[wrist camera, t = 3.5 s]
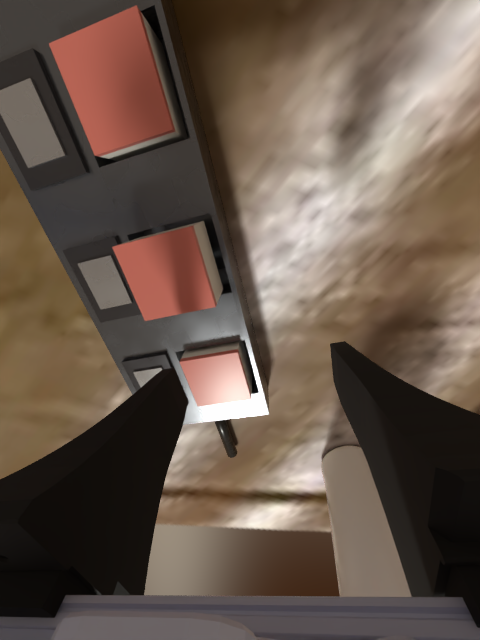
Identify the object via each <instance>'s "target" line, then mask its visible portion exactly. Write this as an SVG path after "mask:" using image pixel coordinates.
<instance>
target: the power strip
mask: <svg viewBox="0 0 480 640" xmlns="http://www.w3.org/2000/svg"><path fill="white" fill-rule="evenodd" d="M136 5H137V7H138V8H139V10H140V11H141V13H142V14H143V16H144V17H145V19H146V20H147V22H148V23H149V25H150V26H151V28H152V29H153V31H154V32H155V34H156V35H157V37H158V38H159V40H160V41H161V43H162V45H163V49H164V52H165V56H166V60H167V63H168V67H169V71H170V74H171V78H172V82H173V85H174V89H175V93H176V96H177V100H178V104H179V107H180V111H181V115H182V118H183V122H184V126H185V129H186V133H187V137H188V139H186V140H183V141H180V142H176V143H173V144H170V145H167V146H164V147H161V148H158V149H155V150H152V151H149V152H146V153H143V154H139V155H136V156H133V157H130V158H127V159H124V160H121V161H115V160H111V159H107V158H103V157H99V156H95V155H94V153H93V150H92V148H91V146H90V143H89V141H88V138H87V136H86V133H85V131H84V129H83V126H82V124H81V121H80V119H79V116H78V114H77V111H76V109H75V107H74V104H73V102H72V99H71V97H70V94H69V92H68V90H67V87H66V85H65V82H64V80H63V77H62V75H61V73H60V70H59V68H58V65H57V63H56V60H55V58H54V56H53V53H52V51H51V48H50V46H49V43H51V42H53V41H56V40H58V39H60V38H62V37H65V36H67V35H69V34H72V33H74V32H76V31H79V30H81V29H83V28H85V27H88V26H90V25H92V24H95V23H97V22H99V21H102V20H104V19H106V18H108V17H111V16H113V15H115V14H118V13H120V12H122V11H124V10H127V9H129V8H131V7H134V6H136ZM0 149H1V151H2V153H3V155H4V157H5V158H6V160H7V162H8V164H9V166H10V168H11V170H12V171H13V173H14V175H15V177H16V179H17V181H18V183H19V184H20V186H21V188H22V190H23V192H24V194H25V196H26V197H27V199H28V201H29V203H30V205H31V207H32V209H33V210H34V212H35V214H36V216H37V218H38V220H39V222H40V223H41V225H42V227H43V229H44V231H45V233H46V235H47V236H48V238H49V240H50V242H51V244H52V246H53V248H54V249H55V251H56V253H57V255H58V257H59V259H60V261H61V262H62V264H63V266H64V268H65V270H66V272H67V274H68V275H69V277H70V279H71V281H72V283H73V285H74V287H75V288H76V290H77V292H78V294H79V296H80V298H81V300H82V301H83V303H84V305H85V307H86V309H87V311H88V313H89V315H90V316H91V318H92V320H93V322H94V324H95V326H96V328H97V329H98V331H99V333H100V335H101V337H102V339H103V341H104V342H105V344H106V346H107V348H108V350H109V352H110V354H111V355H112V357H113V359H114V361H115V363H116V365H117V367H118V368H119V370H120V372H121V374H122V376H123V378H124V380H125V381H126V383H127V385H128V387H129V389H130V391H131V393H132V394H134V393H135V392H136V391H138V390H139V389H140V388H141V387H142V386H143V385H144V384H146V383H147V382H148V381H149V380H150V379H151V378H152V377H154V376H155V375H156V374H157V373H159V372H160V371H161V370H163V369H169V368H175V370H176V373H177V375H178V377H179V380H180V382H181V385H182V387H183V389H184V392H185V394H186V397H187V399H188V403H187V409H186V414H185V419H184V422H183V425H184V424H193V423H201V422H209V421H215V424H216V426H217V429H218V431H219V434H220V437H221V439H222V442H223V444H224V447H225V450H226V452H227V455H228V457H230V458H232V457H235V456H236V454H237V450H236V447H235V444H234V441H233V438H232V436H231V433H230V430H229V427H228V425H227V422H226V419H235V418H243V417H251V416H260V415H268V414H269V398H268V385H267V381H266V377H265V373H264V369H263V365H262V361H261V357H260V353H259V349H258V345H257V341H256V337H255V333H254V329H253V325H252V321H251V317H250V313H249V309H248V305H247V301H246V297H245V293H244V289H243V285H242V281H241V277H240V273H239V269H238V265H237V261H236V257H235V253H234V249H233V245H232V241H231V237H230V233H229V229H228V225H227V221H226V217H225V213H224V209H223V205H222V201H221V196H220V192H219V188H218V184H217V180H216V176H215V172H214V168H213V164H212V160H211V156H210V152H209V148H208V144H207V140H206V136H205V132H204V128H203V124H202V120H201V116H200V112H199V108H198V104H197V100H196V96H195V92H194V88H193V84H192V80H191V76H190V72H189V68H188V64H187V60H186V56H185V52H184V48H183V44H182V40H181V36H180V32H179V28H178V24H177V20H176V16H175V12H174V8H173V4H172V0H0ZM201 221H204V223H205V227H206V230H207V234H208V237H209V241H210V244H211V248H212V251H213V255H214V258H215V262H216V265H217V269H218V273H219V276H220V280H221V283H222V287H223V291H222V293H221V295H220V298H219V300H218V303H217V305H216V307H213V308H208V309H203V310H198V311H193V312H188V313H183V314H178V315H173V316H168V317H163V318H158V319H153V320H148V321H145V320H144V318H143V316H142V313H141V311H140V309H139V307H138V304H137V302H136V300H135V298H134V295H133V293H132V291H131V288H130V286H129V284H128V282H127V279H126V277H125V275H124V273H123V270H122V268H121V266H120V264H119V261H118V259H117V257H116V255H115V252H114V250H113V248H112V247H113V246H116V245H119V244H122V243H125V242H128V241H131V240H133V239H136V238H140V237H144V236H147V235H151V234H155V233H159V232H163V231H166V230H170V229H174V228H178V227H182V226H186V225H189V224H193V223H197V222H201ZM242 340H243V341H244V345H245V349H246V352H247V356H248V360H249V363H250V367H251V370H252V374H253V377H252V396H251V400H245V401H237V402H229V403H222V404H214V405H206V406H199V407H198V406H197V403H196V401H195V399H194V396H193V394H192V391H191V389H190V386H189V384H188V382H187V379H186V377H185V374H184V372H183V369H182V367H181V365H180V360H181V358H182V356H183V354H184V352H185V350H190V349H196V348H201V347H207V346H213V345H219V344H225V343H230V342H236V341H242Z"/></svg>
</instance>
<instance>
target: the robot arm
mask: <svg viewBox="0 0 480 640" xmlns="http://www.w3.org/2000/svg"><path fill="white" fill-rule="evenodd" d="M330 347H331V358H332V368H333V378H334V383H335V387H336V390H337V393H338V396H339V399H340V402H341V404H342V407H343V409H344V411H345V413H346V415H347V418H348V420H349V422H350V424H351V426H352V428H353V431H354V433H355V435H356V437H357V439H358V442H359V444H360V446H361V448H362V450H363V453H364V455H365V458H366V460H367V463H368V465H369V468H370V471H371V474H372V477H373V480H374V483H375V485H376V488H377V491H378V494H379V497H380V500H381V503H382V506H383V509H384V512H385V515H386V518H387V521H388V524H389V527H390V530H391V533H392V536H393V539H394V542H395V546H396V549H397V552H398V555H399V558H400V561H401V564H402V568H403V571H404V574H405V577H406V580H407V584H408V587H409V590H410V593H411V596H412V597H334V596H333V597H332V596H327V597H326V596H324V597H323V596H153V595H152V596H150V595H146V596H145V595H144V590H145V583H146V576H147V570H148V563H149V556H150V551H151V545H152V539H153V533H154V528H155V523H156V518H157V513H158V508H159V503H160V499H161V494H162V490H163V486H164V482H165V477H166V474H167V471H168V467H169V464H170V461H171V458H172V455H173V452H174V449H175V447H176V444H177V441H178V438H179V435H180V432H181V429H182V426H183V422H184V419H185V414H186V409H187V403H188V399H187V397H186V394H185V392H184V389H183V387H182V385H181V382H180V380H179V377H178V375H177V373H176V370H175V368H169V369H163V370H161V371H160V372H159V373H157V374H156V375H155V376H154V377H152V378H151V379H150V380H149V381H148V382H147V383H146V384H144V385H143V386H142V387H141V388H140V389H139V390H138V391H136V392H135V393H134V394H133V395H132V396H131V397H130V398H128V399H127V400H126V401H125V402H124V403H122V404H121V405H120V406H119V407H117V408H116V409H115V410H114V411H113V412H111V413H110V414H109V415H108V416H106V417H105V418H104V419H102V420H101V421H100V422H98V423H97V424H96V425H94V426H93V427H91V428H90V429H88V430H87V431H86V432H84V433H83V434H81V435H80V436H78V437H76V438H75V439H73V440H72V441H70V442H68V443H67V444H65V445H64V446H62V447H60V448H59V449H57V450H56V451H54V452H52V453H50V454H49V455H47V456H45V457H43V458H42V459H40V460H38V461H36V462H34V463H32V464H30V465H29V466H27V467H25V468H23V469H21V470H19V471H17V472H15V473H13V474H11V475H9V476H7V477H5V478H2V479H0V640H480V415H478V414H476V413H473V412H471V411H468V410H465V409H463V408H460V407H458V406H455V405H453V404H451V403H448V402H446V401H443V400H441V399H439V398H437V397H434V396H432V395H430V394H428V393H426V392H424V391H422V390H420V389H418V388H416V387H414V386H412V385H410V384H408V383H406V382H404V381H403V380H401V379H399V378H397V377H396V376H394V375H392V374H391V373H389V372H387V371H386V370H384V369H383V368H381V367H380V366H378V365H377V364H375V363H374V362H372V361H371V360H369V359H368V358H367V357H365V356H364V355H363V354H361V353H360V352H358V351H357V350H356V349H355V348H353V347H352V346H351V345H349V344H348V343H346V342H345V341H344V342H338V343H331V344H330Z"/></svg>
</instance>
